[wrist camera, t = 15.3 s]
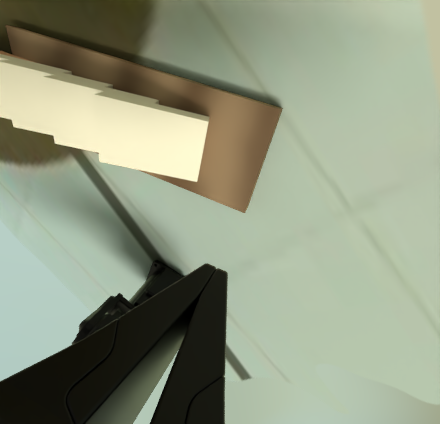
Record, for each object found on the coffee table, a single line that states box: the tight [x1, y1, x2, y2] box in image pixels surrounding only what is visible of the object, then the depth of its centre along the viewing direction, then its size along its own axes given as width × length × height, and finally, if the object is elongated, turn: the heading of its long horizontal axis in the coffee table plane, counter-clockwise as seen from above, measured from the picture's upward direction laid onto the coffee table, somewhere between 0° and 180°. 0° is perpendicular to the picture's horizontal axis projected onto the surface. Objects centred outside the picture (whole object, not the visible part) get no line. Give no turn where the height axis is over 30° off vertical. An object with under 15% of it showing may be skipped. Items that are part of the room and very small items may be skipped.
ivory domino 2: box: [0, 60, 113, 135], centre depth 20 cm, size 2×5×8 cm
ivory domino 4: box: [94, 91, 210, 182], centre depth 18 cm, size 2×5×8 cm
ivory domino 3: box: [43, 75, 159, 153], centre depth 19 cm, size 2×5×8 cm
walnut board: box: [6, 25, 283, 213], centre depth 21 cm, size 26×9×1 cm, turn 74°
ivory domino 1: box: [0, 54, 72, 120], centre depth 21 cm, size 2×5×8 cm
